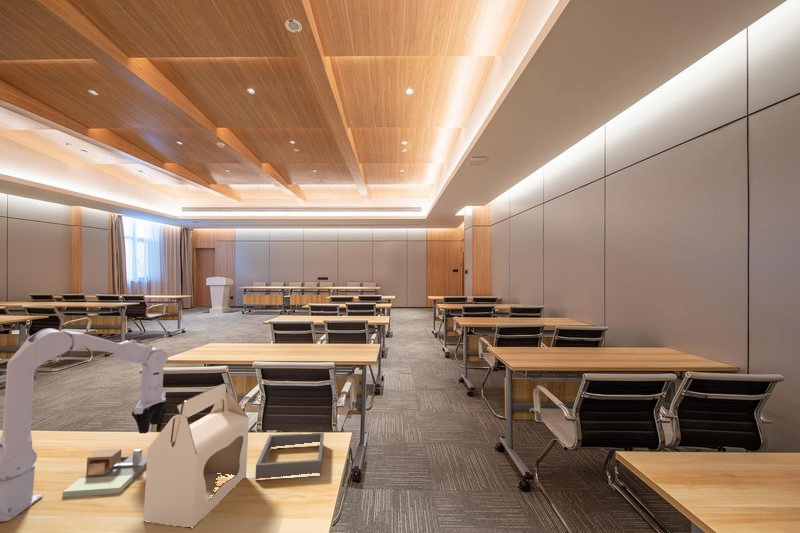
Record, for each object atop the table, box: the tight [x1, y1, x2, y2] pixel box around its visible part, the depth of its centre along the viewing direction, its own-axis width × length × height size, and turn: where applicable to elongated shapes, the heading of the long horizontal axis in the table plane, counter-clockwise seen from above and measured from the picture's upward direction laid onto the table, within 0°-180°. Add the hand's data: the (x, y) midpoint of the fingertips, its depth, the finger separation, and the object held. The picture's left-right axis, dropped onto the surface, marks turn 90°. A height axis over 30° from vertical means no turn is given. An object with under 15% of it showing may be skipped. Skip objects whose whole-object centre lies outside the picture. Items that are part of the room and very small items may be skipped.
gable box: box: [142, 383, 250, 528], centre depth 92 cm, size 22×13×28 cm, turn 172°
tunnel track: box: [62, 448, 147, 498], centre depth 100 cm, size 18×13×6 cm
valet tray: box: [255, 431, 325, 479], centre depth 110 cm, size 20×19×4 cm
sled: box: [88, 448, 143, 476], centre depth 101 cm, size 8×10×4 cm
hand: (149, 428), depth 109 cm, fingers open, 6 cm apart
